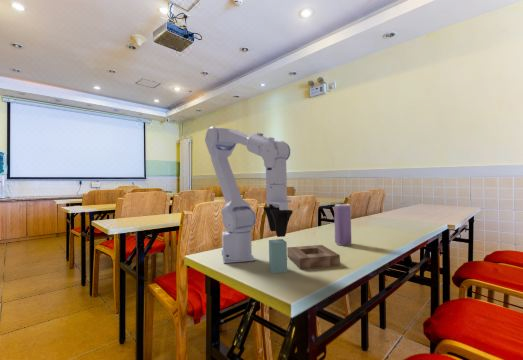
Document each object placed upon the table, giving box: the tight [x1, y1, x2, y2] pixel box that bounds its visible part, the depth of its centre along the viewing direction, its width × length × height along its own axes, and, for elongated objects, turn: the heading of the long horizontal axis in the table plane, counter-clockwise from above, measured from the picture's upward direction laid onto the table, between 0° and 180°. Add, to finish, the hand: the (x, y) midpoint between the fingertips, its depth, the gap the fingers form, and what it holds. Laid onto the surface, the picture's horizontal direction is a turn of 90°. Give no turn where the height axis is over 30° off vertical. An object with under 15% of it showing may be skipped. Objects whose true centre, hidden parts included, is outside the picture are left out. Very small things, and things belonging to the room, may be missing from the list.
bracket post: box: [268, 238, 288, 274], centre depth 71 cm, size 4×4×8 cm
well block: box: [287, 244, 341, 270], centre depth 78 cm, size 12×12×3 cm
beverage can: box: [333, 203, 352, 247], centre depth 97 cm, size 6×6×15 cm
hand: (277, 233), depth 71 cm, fingers open, 7 cm apart
